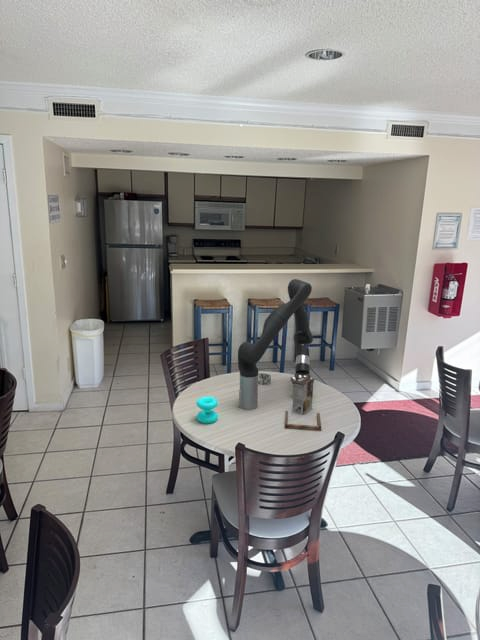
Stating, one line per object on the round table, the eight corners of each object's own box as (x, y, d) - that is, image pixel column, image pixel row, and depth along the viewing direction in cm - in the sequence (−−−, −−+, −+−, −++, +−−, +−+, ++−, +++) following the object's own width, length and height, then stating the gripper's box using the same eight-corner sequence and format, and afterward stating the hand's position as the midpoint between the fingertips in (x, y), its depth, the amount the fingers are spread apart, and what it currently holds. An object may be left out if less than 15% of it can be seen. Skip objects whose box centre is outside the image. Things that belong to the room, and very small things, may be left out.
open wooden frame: (284, 428, 200) (285, 424, 200) (285, 414, 214) (285, 410, 213) (321, 430, 198) (321, 427, 198) (319, 416, 212) (319, 413, 211)
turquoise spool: (192, 401, 203) (204, 393, 212) (192, 421, 206) (204, 412, 214) (210, 406, 198) (221, 398, 207) (210, 426, 201) (221, 417, 209)
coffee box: (301, 405, 223) (302, 375, 219) (312, 409, 219) (314, 379, 215) (291, 411, 217) (293, 381, 212) (302, 415, 213) (304, 384, 208)
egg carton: (270, 385, 248) (270, 379, 246) (257, 385, 248) (257, 378, 247) (271, 378, 258) (271, 372, 257) (258, 377, 258) (258, 371, 257)
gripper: (290, 361, 231) (289, 392, 223) (315, 362, 230) (315, 394, 221) (290, 367, 238) (288, 397, 229) (314, 368, 236) (314, 399, 228)
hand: (302, 395), depth 225 cm, fingers closed
